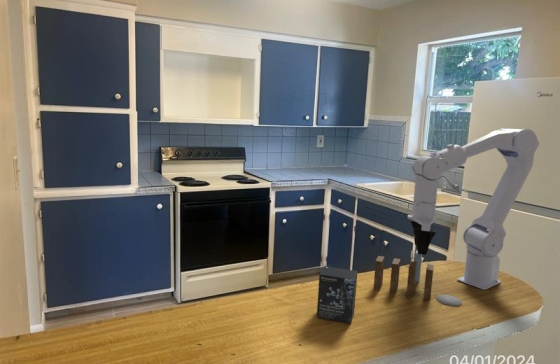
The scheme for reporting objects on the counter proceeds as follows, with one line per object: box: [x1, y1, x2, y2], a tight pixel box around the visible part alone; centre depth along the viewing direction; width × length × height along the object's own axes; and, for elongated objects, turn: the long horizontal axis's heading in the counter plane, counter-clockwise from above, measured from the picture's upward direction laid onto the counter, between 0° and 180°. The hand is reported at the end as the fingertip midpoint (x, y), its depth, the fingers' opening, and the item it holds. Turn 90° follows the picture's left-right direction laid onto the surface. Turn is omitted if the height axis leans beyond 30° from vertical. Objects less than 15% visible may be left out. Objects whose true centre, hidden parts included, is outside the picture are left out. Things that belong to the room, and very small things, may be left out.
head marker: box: [435, 294, 463, 307], centre depth 102 cm, size 6×6×1 cm
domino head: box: [414, 249, 423, 283], centre depth 114 cm, size 2×4×8 cm, turn 156°
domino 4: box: [422, 263, 435, 301], centre depth 103 cm, size 2×4×8 cm, turn 157°
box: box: [316, 265, 358, 325], centre depth 91 cm, size 8×6×11 cm
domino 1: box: [373, 255, 385, 291], centre depth 108 cm, size 2×4×8 cm, turn 157°
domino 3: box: [406, 260, 417, 298], centre depth 105 cm, size 2×4×8 cm, turn 157°
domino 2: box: [389, 258, 401, 295], centre depth 106 cm, size 2×4×8 cm, turn 157°
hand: (420, 249), depth 110 cm, fingers open, 7 cm apart
